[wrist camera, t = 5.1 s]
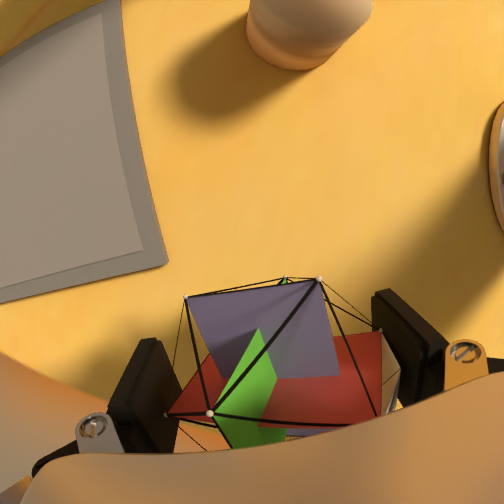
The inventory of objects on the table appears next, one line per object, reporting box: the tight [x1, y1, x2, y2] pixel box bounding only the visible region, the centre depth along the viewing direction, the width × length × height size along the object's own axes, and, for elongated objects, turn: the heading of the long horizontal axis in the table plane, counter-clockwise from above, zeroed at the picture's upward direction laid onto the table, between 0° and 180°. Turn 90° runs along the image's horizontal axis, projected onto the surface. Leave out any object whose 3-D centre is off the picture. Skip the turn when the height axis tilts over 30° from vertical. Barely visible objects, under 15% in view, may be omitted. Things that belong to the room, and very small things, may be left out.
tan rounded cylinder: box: [246, 0, 373, 71], centre depth 11 cm, size 5×5×5 cm
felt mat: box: [0, 0, 169, 303], centre depth 13 cm, size 16×16×1 cm
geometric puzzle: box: [164, 275, 401, 451], centre depth 9 cm, size 7×7×8 cm
